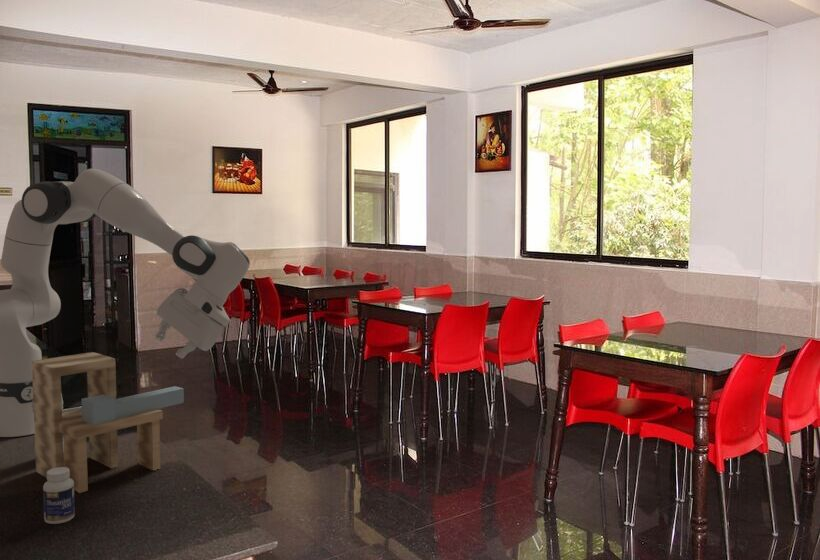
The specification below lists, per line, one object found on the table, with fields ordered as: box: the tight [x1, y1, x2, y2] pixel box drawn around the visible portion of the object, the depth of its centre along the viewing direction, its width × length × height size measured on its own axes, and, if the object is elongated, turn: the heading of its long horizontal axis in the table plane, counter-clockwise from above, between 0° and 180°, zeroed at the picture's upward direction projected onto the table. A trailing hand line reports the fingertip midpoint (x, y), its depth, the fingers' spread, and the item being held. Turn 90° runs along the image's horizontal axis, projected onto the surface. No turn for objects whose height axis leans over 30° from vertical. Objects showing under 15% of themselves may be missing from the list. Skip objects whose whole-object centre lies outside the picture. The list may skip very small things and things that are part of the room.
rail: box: [80, 385, 185, 425], centre depth 158 cm, size 5×23×5 cm, turn 143°
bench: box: [59, 408, 164, 494], centre depth 155 cm, size 8×20×14 cm, turn 140°
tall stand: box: [32, 351, 119, 479], centre depth 158 cm, size 11×14×26 cm
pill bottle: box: [42, 467, 76, 525], centre depth 133 cm, size 5×5×10 cm
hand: (168, 347), depth 168 cm, fingers open, 8 cm apart
